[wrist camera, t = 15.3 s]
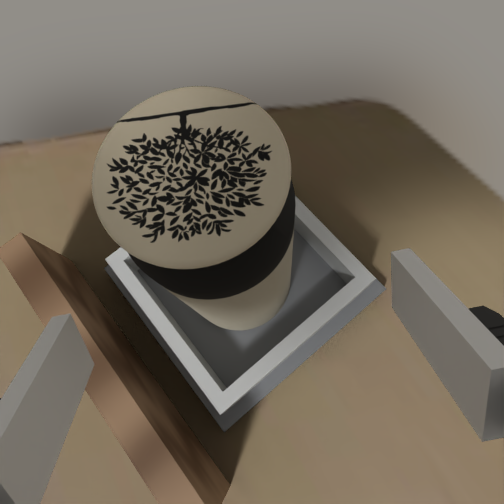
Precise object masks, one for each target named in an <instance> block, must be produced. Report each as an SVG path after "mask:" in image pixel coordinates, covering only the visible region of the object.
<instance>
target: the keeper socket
mask: <svg viewBox="0 0 504 504" xmlns="http://www.w3.org/2000/svg"><path fill="white" fill-rule="evenodd" d="M295 204H296V207H295V222H294V237H293V251H292V266H291V281H290V289H289V293H288V296H287V299H286V301H285V303H284V305H283V306H282V308H281V309H280V311H279V312H278V313H277V314H276V315H275V316H274V317H273V318H272V319H271V320H269V321H268V322H266V323H265V324H263V325H261V326H258V327H256V328H253V329H249V330H229V329H225V328H221V327H219V326H217V325H215V324H213V323H211V322H210V321H208V320H207V319H206V318H204V317H203V316H202V315H200V314H199V313H198V312H196V311H195V310H194V309H192V308H191V307H189V306H188V305H187V304H185V303H184V302H183V301H181V300H180V299H179V298H177V297H176V296H175V295H173V294H172V293H170V292H169V291H168V290H166V289H165V288H164V287H162V286H161V285H160V284H158V283H157V282H156V281H154V280H153V279H152V278H150V277H149V276H148V275H146V274H145V273H144V272H143V271H142V270H141V269H140V268H139V267H138V266H137V265H136V264H135V263H134V261H133V260H132V259H131V257H130V256H129V254H128V252H127V251H125V250H124V249H123V248H121V247H120V248H119V249H118V250H116V251H115V252H114V253H112V254H111V255H110V256H108V257H107V258H106V259H105V260H106V261H107V262H108V264H109V265H107V266H106V267H105V268H104V269H105V270H106V272H107V273H108V274H109V276H110V277H111V278H112V280H113V281H114V283H115V284H116V285H117V287H118V288H119V289H120V291H121V292H122V293H123V295H124V296H125V298H126V299H127V300H128V302H129V303H130V304H131V306H132V307H133V308H134V310H135V311H136V313H137V314H138V315H139V317H140V318H141V319H142V321H143V322H144V323H145V325H146V326H147V328H148V329H149V330H150V332H151V333H152V334H153V336H154V337H155V338H156V340H157V341H158V343H159V344H160V345H161V347H162V348H163V349H164V351H165V352H166V353H167V355H168V356H169V358H170V359H171V360H172V362H173V363H174V364H175V366H176V367H177V368H178V370H179V371H180V373H181V374H182V375H183V377H184V378H185V379H186V381H187V382H188V383H189V385H190V386H191V388H192V389H193V390H194V392H195V393H196V394H197V396H198V397H199V399H200V400H201V401H202V403H203V404H204V405H205V407H206V408H207V409H208V411H209V412H210V414H211V415H212V416H213V418H214V419H215V420H216V422H217V423H218V424H219V426H220V427H221V429H222V430H223V431H224V432H225V431H226V430H227V429H229V428H230V427H231V426H232V425H233V424H234V423H235V422H237V421H238V420H239V419H240V418H241V417H242V416H243V415H244V414H246V413H247V412H248V411H249V410H250V409H251V408H252V407H253V406H255V405H256V404H257V403H258V402H259V401H260V400H261V399H262V398H264V397H265V396H266V395H267V394H268V393H269V392H270V391H272V390H273V389H274V388H275V387H276V386H277V385H278V384H279V383H281V382H282V381H283V380H284V379H285V378H286V377H287V376H288V375H290V374H291V373H292V372H293V371H294V370H295V369H296V368H298V367H299V366H300V365H301V364H302V363H303V362H304V361H305V360H307V359H308V358H309V357H310V356H311V355H312V354H313V353H314V352H316V351H317V350H318V349H319V348H320V347H321V346H322V345H323V344H325V343H326V342H327V341H328V340H329V339H330V338H331V337H333V336H334V335H335V334H336V333H337V332H338V331H339V330H340V329H342V328H343V327H344V326H345V325H346V324H347V323H348V322H349V321H351V320H352V319H353V318H354V317H355V316H356V315H357V314H359V313H360V312H361V311H362V310H363V309H364V308H365V307H366V306H368V305H369V304H370V303H371V302H372V301H373V300H374V299H375V298H377V297H378V296H379V295H380V294H381V293H382V292H383V291H384V290H386V288H385V287H384V286H383V285H382V284H381V283H380V282H379V281H378V280H377V279H376V278H375V277H374V276H373V275H372V274H371V273H370V272H369V271H368V270H367V269H366V268H365V266H364V265H363V264H362V263H361V262H360V261H359V260H358V259H357V258H356V257H355V256H354V255H353V254H352V253H351V252H350V251H349V250H348V249H347V248H346V247H345V246H344V245H343V244H342V243H341V242H340V241H339V240H338V239H337V238H336V237H335V236H334V235H333V234H332V233H331V232H330V231H329V230H328V229H327V228H326V227H325V226H324V225H323V224H322V222H321V221H320V220H319V219H318V218H317V217H316V216H315V215H314V214H313V213H312V212H311V211H310V210H309V209H308V208H307V207H306V206H305V205H304V204H303V203H302V202H301V201H300V200H299V199H298V198H297V197H296V196H295Z"/></svg>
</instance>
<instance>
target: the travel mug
mask: <svg viewBox="0 0 504 504" xmlns="http://www.w3.org/2000/svg"><path fill="white" fill-rule="evenodd" d="M92 195H93V202H94V205H95V209H96V212H97V215H98V217H99V219H100V221H101V223H102V225H103V227H104V228H105V230H106V231H107V233H108V234H109V235H110V236H111V238H112V239H113V240H114V241H115V242H116V243H117V244H118V245H119V246H120V247H121V248H123V249H124V250H125V251H127V252H128V254H129V256H130V257H131V259H132V260H133V261H134V263H135V264H136V265H137V266H138V267H139V268H140V269H141V270H142V271H143V272H144V273H145V274H146V275H148V276H149V277H150V278H152V279H153V280H154V281H156V282H157V283H158V284H160V285H161V286H162V287H164V288H165V289H166V290H168V291H169V292H170V293H172V294H173V295H175V296H176V297H177V298H179V299H180V300H181V301H183V302H184V303H185V304H187V305H188V306H189V307H191V308H192V309H194V310H195V311H196V312H198V313H199V314H200V315H202V316H203V317H204V318H206V319H207V320H208V321H210V322H211V323H213V324H215V325H217V326H219V327H221V328H225V329H229V330H249V329H253V328H256V327H258V326H261V325H263V324H265V323H266V322H268V321H269V320H271V319H272V318H273V317H274V316H275V315H276V314H277V313H278V312H279V311H280V309H281V308H282V306H283V305H284V303H285V301H286V299H287V296H288V293H289V289H290V281H291V266H292V251H293V237H294V222H295V207H296V204H295V193H294V187H293V184H292V180H291V160H290V154H289V149H288V146H287V143H286V140H285V138H284V136H283V134H282V132H281V130H280V128H279V127H278V125H277V124H276V123H275V121H274V120H273V119H272V117H271V116H270V115H269V114H268V113H267V112H266V111H265V110H264V109H262V108H261V107H260V106H259V105H257V104H256V103H255V102H253V101H251V100H250V99H248V98H246V97H244V96H242V95H240V94H238V93H235V92H232V91H229V90H226V89H221V88H216V87H207V86H191V87H182V88H177V89H173V90H169V91H165V92H163V93H160V94H157V95H155V96H153V97H151V98H148V99H147V100H145V101H143V102H141V103H140V104H138V105H137V106H135V107H134V108H133V109H131V110H130V111H129V112H127V113H126V114H125V115H124V116H123V117H122V118H121V119H120V120H119V121H118V122H117V123H116V124H115V125H114V126H113V128H112V129H111V130H110V132H109V133H108V135H107V136H106V138H105V139H104V141H103V143H102V145H101V147H100V149H99V151H98V154H97V157H96V160H95V164H94V168H93V174H92Z"/></svg>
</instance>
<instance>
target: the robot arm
mask: <svg viewBox="0 0 504 504" xmlns="http://www.w3.org/2000/svg"><path fill="white" fill-rule="evenodd" d="M391 280H392V308H393V310H394V311H395V313H396V314H397V316H398V317H399V319H400V320H401V322H402V323H403V325H404V326H405V328H406V329H407V331H408V332H409V334H410V335H411V337H412V338H413V340H414V341H415V343H416V344H417V346H418V347H419V349H420V350H421V352H422V353H423V355H424V356H425V357H426V359H427V360H428V362H429V363H430V365H431V366H432V368H433V369H434V371H435V372H436V374H437V375H438V377H439V378H440V380H441V381H442V383H443V384H444V386H445V387H446V389H447V390H448V392H449V393H450V395H451V396H452V398H453V399H454V401H455V402H456V404H457V405H458V407H459V408H460V410H461V411H462V413H463V414H464V416H465V417H466V419H467V420H468V422H469V423H470V425H471V426H472V427H473V429H474V430H475V432H476V433H477V435H478V436H479V438H480V439H481V441H482V442H483V441H488V440H493V439H499V438H504V318H503V317H502V316H501V315H500V314H499V313H497V312H495V311H493V310H491V309H489V308H487V307H485V306H479V307H474V308H469V309H468V308H467V307H466V306H465V305H464V304H463V303H462V302H461V301H460V300H459V299H458V298H457V297H456V296H455V295H454V294H453V293H452V291H451V290H450V289H449V288H448V287H447V286H446V285H445V284H444V283H443V282H442V281H441V280H440V279H439V278H438V277H437V276H436V275H435V274H434V273H433V272H432V271H431V270H430V269H429V268H428V267H427V265H426V264H425V263H424V262H423V261H422V260H421V259H420V258H419V257H418V256H417V255H416V254H415V253H414V252H413V251H412V250H411V249H410V248H408V249H403V250H398V251H393V252H391ZM93 367H94V362H93V360H92V358H91V356H90V354H89V351H88V349H87V347H86V345H85V343H84V341H83V339H82V337H81V335H80V332H79V330H78V328H77V326H76V324H75V322H74V320H73V318H72V316H71V313H70V314H64V315H59V316H54V317H52V318H51V319H50V321H49V322H48V324H47V326H46V327H45V329H44V331H43V332H42V334H41V335H40V337H39V339H38V340H37V342H36V343H35V345H34V347H33V348H32V350H31V352H30V353H29V355H28V356H27V358H26V360H25V361H24V363H23V364H22V366H21V368H20V369H19V371H18V373H17V374H16V376H15V377H14V379H13V381H12V382H11V384H10V385H9V387H8V389H7V390H6V392H5V394H4V395H3V397H2V398H0V504H40V502H41V500H42V497H43V495H44V492H45V490H46V487H47V484H48V482H49V479H50V477H51V474H52V472H53V469H54V467H55V464H56V461H57V459H58V456H59V454H60V451H61V449H62V446H63V444H64V441H65V438H66V436H67V433H68V431H69V428H70V426H71V423H72V421H73V418H74V415H75V413H76V410H77V408H78V405H79V403H80V400H81V398H82V395H83V392H84V390H85V387H86V385H87V382H88V380H89V377H90V375H91V372H92V369H93Z"/></svg>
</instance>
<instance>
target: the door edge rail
mask: <svg viewBox="0 0 504 504" xmlns="http://www.w3.org/2000/svg"><path fill="white" fill-rule="evenodd" d="M0 258H1V259H2V261H3V262H4V264H5V265H6V267H7V269H8V270H9V272H10V273H11V275H12V276H13V278H14V279H15V281H16V283H17V284H18V286H19V287H20V289H21V290H22V292H23V293H24V295H25V297H26V298H27V300H28V301H29V303H30V304H31V306H32V307H33V309H34V311H35V312H36V314H37V315H38V317H39V318H40V320H41V321H42V323H43V325H44V326H45V327H46V326H47V324H48V322H49V321H50V319H51V318H52V317H54V316H59V315H64V314H70V313H71V316H72V318H73V320H74V322H75V324H76V326H77V328H78V330H79V332H80V335H81V337H82V339H83V341H84V343H85V345H86V347H87V349H88V351H89V354H90V356H91V358H92V360H93V362H94V367H93V369H92V372H91V375H90V377H89V380H88V382H87V385H86V387H85V390H86V392H87V393H88V395H89V396H90V398H91V399H92V401H93V402H94V404H95V406H96V407H97V409H98V410H99V412H100V413H101V415H102V416H103V418H104V420H105V421H106V423H107V424H108V426H109V427H110V429H111V430H112V432H113V434H114V435H115V437H116V438H117V440H118V441H119V443H120V444H121V446H122V448H123V449H124V451H125V452H126V454H127V455H128V457H129V458H130V460H131V462H132V463H133V465H134V466H135V468H136V469H137V471H138V472H139V474H140V476H141V477H142V479H143V480H144V482H145V483H146V485H147V486H148V488H149V490H150V491H151V493H152V494H153V496H154V497H155V499H156V500H157V502H158V504H222V502H223V500H224V498H225V496H226V494H227V492H228V490H229V488H230V484H229V483H228V481H227V480H226V478H225V477H224V476H223V474H222V473H221V471H220V470H219V469H218V467H217V466H216V464H215V463H214V461H213V460H212V459H211V457H210V456H209V454H208V453H207V452H206V450H205V449H204V447H203V446H202V445H201V443H200V442H199V440H198V439H197V437H196V436H195V435H194V433H193V432H192V430H191V429H190V428H189V426H188V425H187V423H186V422H185V420H184V419H183V418H182V416H181V415H180V413H179V412H178V411H177V409H176V408H175V406H174V405H173V404H172V402H171V401H170V399H169V398H168V396H167V395H166V394H165V392H164V391H163V389H162V388H161V387H160V385H159V384H158V382H157V381H156V379H155V378H154V377H153V375H152V374H151V372H150V371H149V370H148V368H147V367H146V365H145V364H144V363H143V361H142V360H141V358H140V357H139V355H138V354H137V353H136V351H135V350H134V348H133V347H132V346H131V344H130V343H129V341H128V340H127V338H126V337H125V336H124V334H123V333H122V331H121V330H120V329H119V327H118V326H117V324H116V323H115V322H114V320H113V319H112V317H111V316H110V314H109V313H108V312H107V310H106V309H105V307H104V306H103V305H102V303H101V302H100V300H99V299H98V298H97V296H96V295H95V293H94V292H93V290H92V289H91V288H90V286H89V285H88V283H87V282H86V281H85V279H84V278H83V276H82V275H81V273H80V272H79V271H78V269H77V268H76V266H75V265H74V264H73V262H72V261H71V260H70V259H68V258H66V257H64V256H62V255H61V254H59V253H57V252H55V251H53V250H51V249H50V248H48V247H46V246H44V245H42V244H41V243H39V242H37V241H35V240H33V239H31V238H30V237H28V236H26V235H24V234H22V233H21V232H20V233H19V234H18V235H16V236H15V237H14V238H12V239H11V240H10V241H8V242H7V243H5V244H4V245H3V246H1V247H0Z"/></svg>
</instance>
